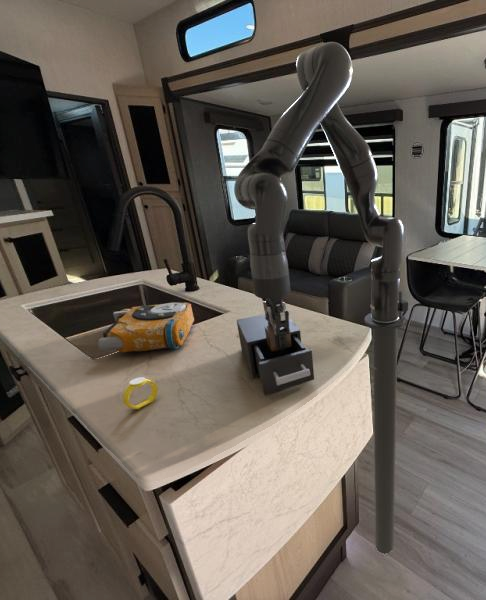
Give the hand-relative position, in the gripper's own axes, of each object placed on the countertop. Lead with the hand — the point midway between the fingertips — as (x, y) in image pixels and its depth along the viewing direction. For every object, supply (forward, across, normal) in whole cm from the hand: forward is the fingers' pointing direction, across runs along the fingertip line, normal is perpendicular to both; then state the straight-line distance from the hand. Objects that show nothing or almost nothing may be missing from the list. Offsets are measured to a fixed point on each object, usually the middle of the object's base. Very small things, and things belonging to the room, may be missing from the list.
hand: (279, 343), depth 74 cm
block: (0, 0, 0) cm, 0 cm away
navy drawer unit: (+9, +12, 0) cm, 15 cm away
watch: (+10, +6, +28) cm, 30 cm away
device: (+10, +44, +28) cm, 53 cm away
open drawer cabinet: (+9, -1, 0) cm, 9 cm away
